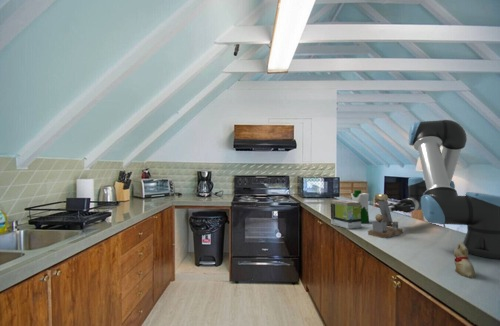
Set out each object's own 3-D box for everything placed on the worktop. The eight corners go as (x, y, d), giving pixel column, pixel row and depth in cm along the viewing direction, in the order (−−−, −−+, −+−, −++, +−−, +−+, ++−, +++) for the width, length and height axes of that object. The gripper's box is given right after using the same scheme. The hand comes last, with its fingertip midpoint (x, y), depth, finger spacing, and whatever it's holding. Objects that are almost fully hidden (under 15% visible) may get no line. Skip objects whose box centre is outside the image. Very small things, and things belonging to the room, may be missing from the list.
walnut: (384, 222, 129) (384, 215, 129) (376, 222, 130) (376, 214, 130) (382, 220, 133) (381, 213, 133) (374, 220, 133) (374, 213, 134)
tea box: (362, 227, 149) (361, 201, 150) (348, 229, 146) (347, 202, 146) (343, 222, 163) (342, 198, 164) (330, 224, 160) (329, 200, 160)
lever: (385, 220, 139) (377, 192, 136) (394, 222, 135) (386, 193, 131) (382, 224, 137) (374, 195, 134) (391, 225, 133) (383, 196, 130)
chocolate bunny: (477, 271, 85) (475, 240, 85) (474, 279, 79) (473, 246, 80) (455, 267, 89) (454, 237, 89) (451, 274, 83) (450, 242, 84)
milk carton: (350, 221, 165) (349, 190, 165) (359, 220, 169) (358, 189, 170) (362, 224, 157) (361, 191, 158) (371, 222, 162) (370, 190, 162)
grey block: (377, 230, 134) (376, 220, 135) (386, 231, 130) (386, 221, 130) (372, 231, 132) (372, 221, 132) (382, 233, 128) (382, 222, 128)
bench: (385, 229, 143) (385, 218, 143) (402, 232, 136) (402, 221, 136) (368, 234, 133) (367, 222, 133) (385, 238, 126) (385, 225, 126)
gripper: (421, 213, 144) (399, 218, 131) (396, 210, 155) (374, 215, 142) (420, 199, 144) (399, 203, 131) (396, 197, 155) (374, 201, 142)
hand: (386, 209), depth 136 cm, fingers closed
